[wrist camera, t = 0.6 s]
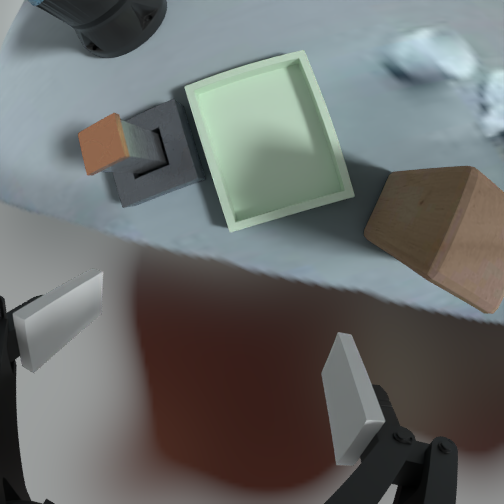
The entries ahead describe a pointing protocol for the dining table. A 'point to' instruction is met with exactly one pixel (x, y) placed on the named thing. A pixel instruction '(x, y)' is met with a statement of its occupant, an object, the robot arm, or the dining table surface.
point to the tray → (269, 140)
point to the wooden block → (445, 230)
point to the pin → (121, 147)
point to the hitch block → (178, 152)
